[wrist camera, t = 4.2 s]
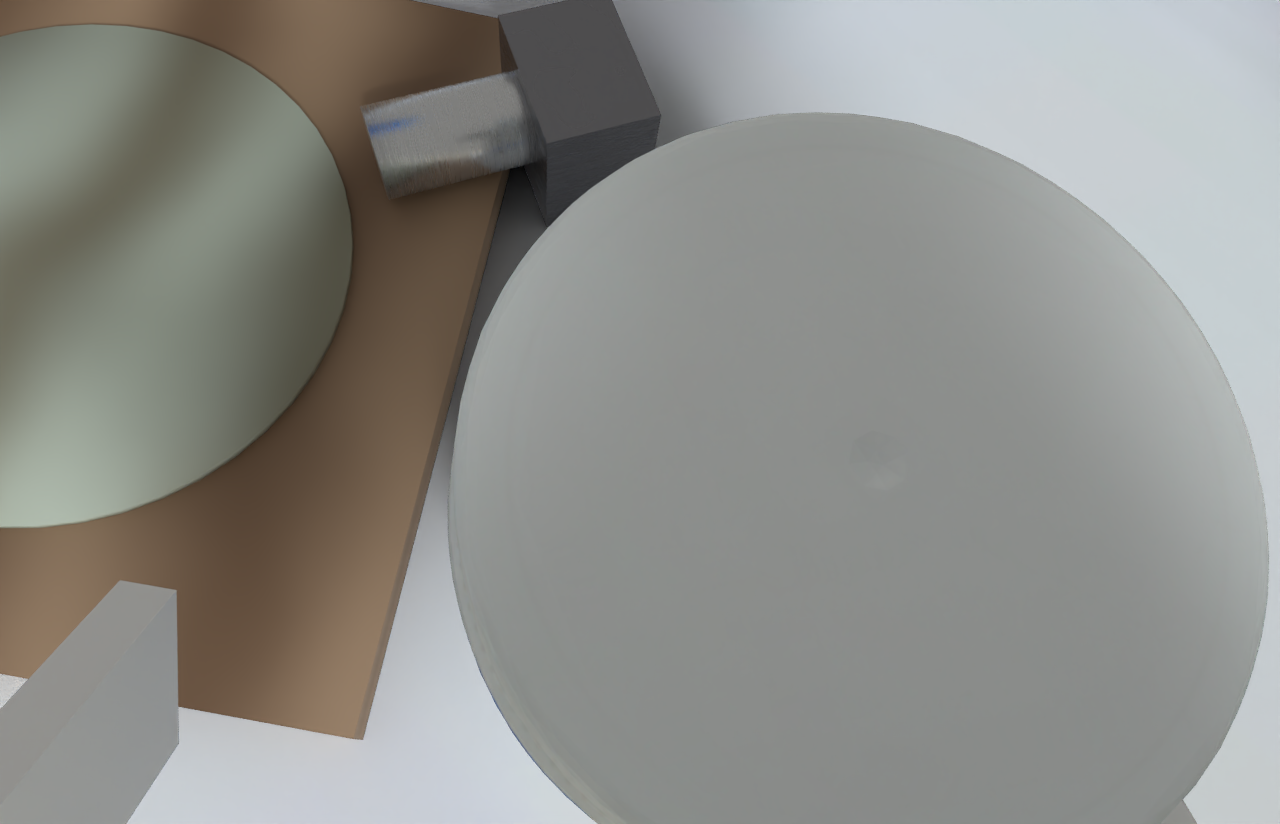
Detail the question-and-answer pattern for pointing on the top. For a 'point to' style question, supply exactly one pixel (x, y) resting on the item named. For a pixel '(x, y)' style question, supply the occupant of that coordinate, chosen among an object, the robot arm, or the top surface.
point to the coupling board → (226, 331)
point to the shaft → (527, 111)
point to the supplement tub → (853, 494)
